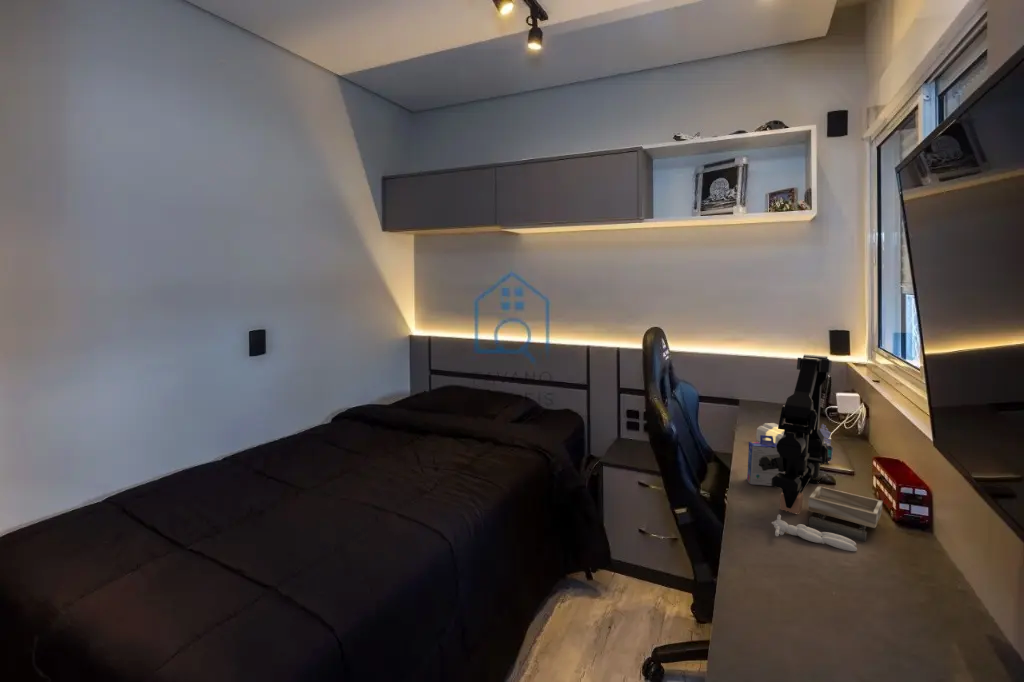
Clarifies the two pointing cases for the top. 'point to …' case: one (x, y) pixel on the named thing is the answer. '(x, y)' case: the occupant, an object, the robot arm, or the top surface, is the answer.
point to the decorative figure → (814, 535)
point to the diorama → (777, 434)
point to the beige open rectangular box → (845, 506)
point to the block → (796, 506)
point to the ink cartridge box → (754, 454)
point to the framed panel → (838, 528)
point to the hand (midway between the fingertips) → (791, 504)
